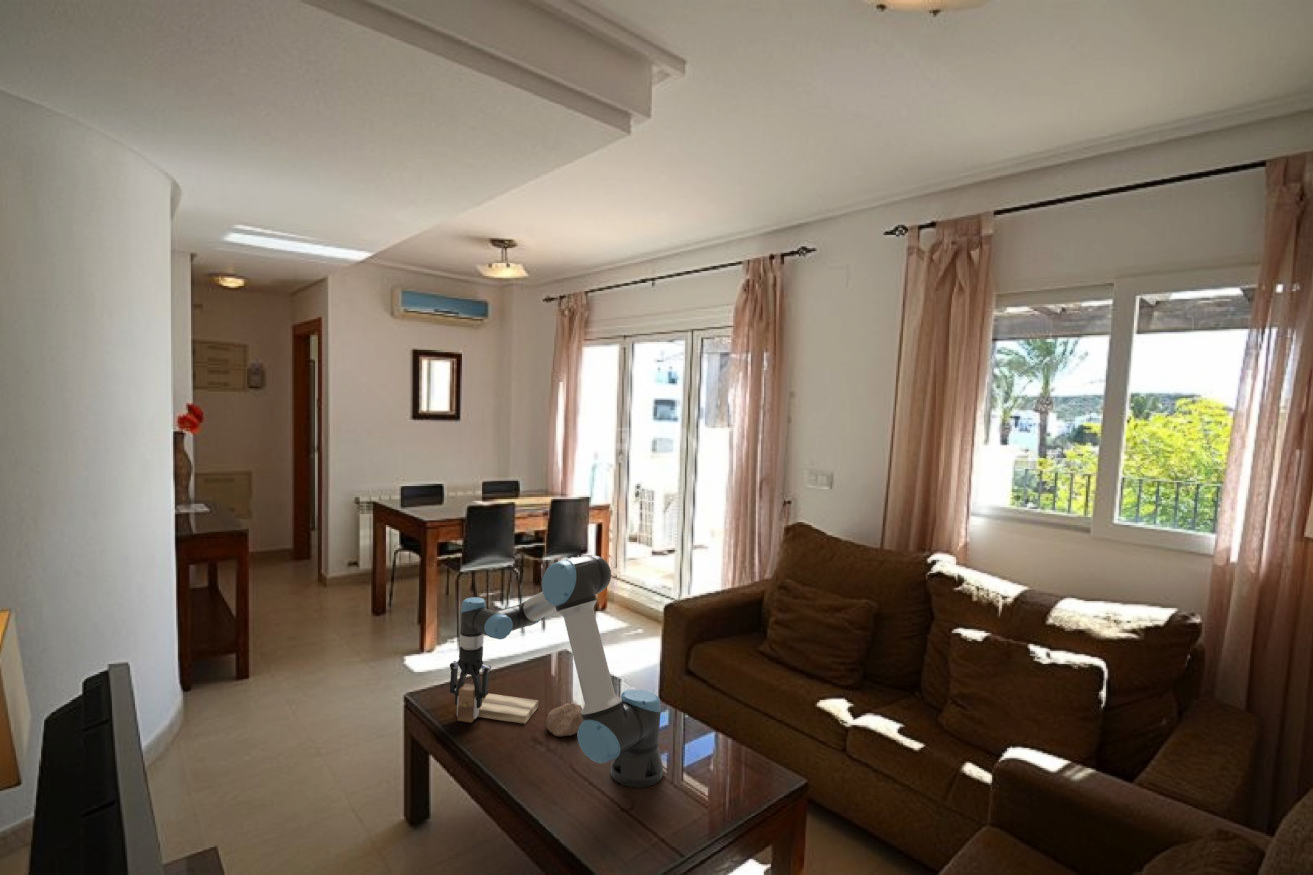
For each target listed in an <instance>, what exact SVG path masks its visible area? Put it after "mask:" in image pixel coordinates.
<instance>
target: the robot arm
mask: <svg viewBox="0 0 1313 875" xmlns="http://www.w3.org/2000/svg"><path fill="white" fill-rule="evenodd" d="M611 580H612V569H611V567H610V565H609V563H608V561H606V560H605V559H604V558H602V557H601V556H599V555H595V554H588V555H584V556H583V555H582V556H579V557H572V558H567V559H561V560H560V561H556V562H553V563H551V564H550V565H549V566H548V567H547V568H546V570H545V573H544V574H543V575H542V582H541V588H542V589H541V590H542V591H541V592H538V593H536V594H535V595H534V596H532V597H530V598H528V599H527V600H525V601H523V602H522V603H519V604H517V605H514V606H513V605H512V606H508V607H506V608H501V609H498V610H491V609H489V608H487V607H486V606H487V605H486V604H487V603H486V600H485V599H484V598H482V597H476V596H475V597H472V596H471V597H467V598H465V599H464V600H463V601H462V602H461V611H460V626H459V627H460V628H459V630H460V633H459V650H458V660H457V661H456V660H453V661H452V662H451V663H450V664H449V669H450V682H449V683H450V684H449V693H450V694H453V695H454V704H455V705H456V717H458V699H459V689H460V688H461V687H462V686H463V685H464V684H465V681H466V679H467V676H468V675H470V676H471V679H472V681H473V685H474V687H475V693H476V698H475V699H474V710H473V719H475V720H476V719H477V718H479V717H478V715H479V708H480V707H481V706H482V698H484V697H486V696H487V695H488V693H489V689H490V688H489V687H490V686H489V685H490V684H489V683H490V681H489V680H490V671H491V669H492V665H486V664H484V661H483V656H484V646H483V645H484V636H487V637H489V638H492V639H496V640H504V639H506V638H507V637H508V636H509V635H510V634H511V633H512V632H513V631H516V630H518V629H521V628H525V627H531V626H533V625H535V624H538V623H539V622H540V621H541V619H542V618H544V617H546V616H548V615H550V614H552V613H554V612H556V613H557V614H558V615H560V616H562V617H563V619H564V624H565V628H566V631H567V637H568V640H569V644H570V649H571V653H572V658H573V661H574V665H575V670H576V674H577V679H578V682H579V686H580V690H581V694H582V697H583V698H582V699H583V702H584V705H583V707H582V711H581V715H582V719H583V722H582V723H581V725H580V726H579V730H578V732H577V733H576V734H577V735H576V736H577V742H578V745H579V747H580V749H581V751H582V753H583V754H584V755H585V756H586V757H588V758H589V760H591V761H593V762H594V763H597V764H607V763H608V762H610V761H611V762H610V775H611V777H612V779H613V780H615V781H616V782H617V783H619V784H621V785H623V786H625V787H629V788H639V789H640V788H647V787H651V786H654V785H656V784H658V782H660V781H661V780H662V778H663V774H664V765H663V761H662V757H661V756H662V755H661V752H660V748H659V740H660V725H661V724H660V723H661V713H662V708H661V707H662V706H661V705H662V703H661V699H660V697H659V696H658V695H657V694H656V693H654V692H651V691H648V690H643V689H638V688H637V689H635V688H633V689H632V688H631V689H627V690H624V691H622V692H621V695H620V696H618V695H617V694H615V689H614V686H613V680H612V677H611V672H610V670H609V665H608V662H607V658H606V653H605V649H604V644H603V642H602V637H601V633H600V630H599V626H598V622H597V618H596V614H595V611H594V608H595V606H596V603H597V602H598V601H597V596H596V595H598V594H599V593H602V592H603V591H605V590H606V589H607V587H608V586H609V585H610V583H611ZM459 668H460V673H459ZM480 670H481V671H482V675H481V671H480ZM458 673H459V679H458ZM481 676H482V680H481Z"/></svg>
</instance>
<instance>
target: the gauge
mask: <svg viewBox="0 0 1313 875" xmlns="http://www.w3.org/2000/svg"><path fill="white" fill-rule="evenodd" d="M475 698H476V693H475V687H474V684H470V683H464V685H463V686H462V687H461V688H460V689H459V699H458V716H457V720H456V721H458V722H463V723H471V724H472V723H473V722H474V721H475V720H476V719H473V710H474V699H475ZM484 698H485V697H484ZM484 698H482V700H483V699H484Z"/></svg>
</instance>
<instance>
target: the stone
mask: <svg viewBox="0 0 1313 875" xmlns="http://www.w3.org/2000/svg"><path fill="white" fill-rule="evenodd" d="M582 709H583V707H582V706H581V705H578V704H576V703H575V702H572V703H568V702H566V703H564V704H562V705H561V706H558V707H554V708H553V709H551V710H550V711H549V713H548V714H547V718H546V728H547V730H548V731H549V732H550V733H551V734H552V735H553V736H555V737H566V736H572V735H575V734H577V732H578V730H579V726H580V725H581V723H582V722H583V719H582V715H581V711H582Z"/></svg>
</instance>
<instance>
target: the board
mask: <svg viewBox="0 0 1313 875" xmlns="http://www.w3.org/2000/svg"><path fill="white" fill-rule="evenodd" d="M538 708H539V700H538V699H531V698H524V697H517V696H511V695H510V696H509V695H502V694H496V693H489V692H488V695H487V696H486V697H485V698H484V699H483V700H482V706H481V707H480V708H479V715H478V717H477V718H485V719H491V720H498V721H502V722H503V721H504V722H511V723H512V722H513V723H516V724H517V723H518V724H524V725H525V724H526V723H527V722H528V721H529V719H530V718H531V717H532V716H533V715H534V713H535V712H536V710H537V709H538Z"/></svg>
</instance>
